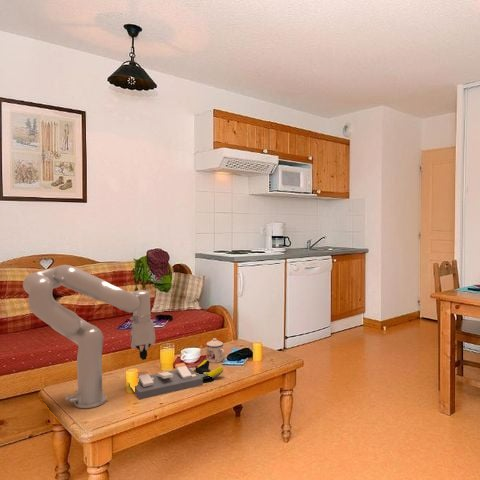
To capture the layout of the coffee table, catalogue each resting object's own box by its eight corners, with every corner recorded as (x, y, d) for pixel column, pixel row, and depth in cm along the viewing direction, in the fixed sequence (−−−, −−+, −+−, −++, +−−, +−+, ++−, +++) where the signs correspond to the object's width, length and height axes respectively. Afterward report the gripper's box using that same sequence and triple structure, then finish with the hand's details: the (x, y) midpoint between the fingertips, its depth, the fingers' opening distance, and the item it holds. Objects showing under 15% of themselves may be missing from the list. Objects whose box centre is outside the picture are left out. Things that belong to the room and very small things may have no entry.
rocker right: (182, 379, 182) (183, 376, 182) (174, 366, 190) (175, 364, 190) (191, 377, 184) (192, 374, 184) (183, 365, 192) (183, 362, 192)
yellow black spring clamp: (207, 369, 203) (190, 374, 197) (207, 358, 203) (190, 362, 197) (225, 378, 192) (207, 383, 185) (225, 366, 191) (207, 371, 185)
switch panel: (139, 399, 169) (139, 390, 168) (128, 385, 182) (128, 377, 182) (202, 384, 183) (202, 376, 183) (188, 373, 197) (188, 365, 197)
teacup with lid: (202, 360, 216) (202, 338, 215) (215, 356, 223) (215, 335, 222) (217, 365, 208) (217, 343, 207) (230, 361, 214) (230, 339, 214)
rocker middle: (163, 378, 177) (163, 375, 177) (156, 375, 186) (156, 372, 186) (173, 376, 179) (173, 373, 179) (165, 373, 188) (165, 370, 188)
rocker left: (143, 386, 173) (143, 384, 172) (136, 375, 181) (136, 372, 181) (153, 384, 175) (153, 381, 175) (146, 373, 183) (146, 370, 183)
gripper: (127, 322, 173) (129, 364, 174) (161, 317, 181) (162, 358, 182) (122, 319, 180) (124, 359, 181) (155, 314, 187) (156, 353, 188)
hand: (143, 358), depth 181 cm, fingers closed
